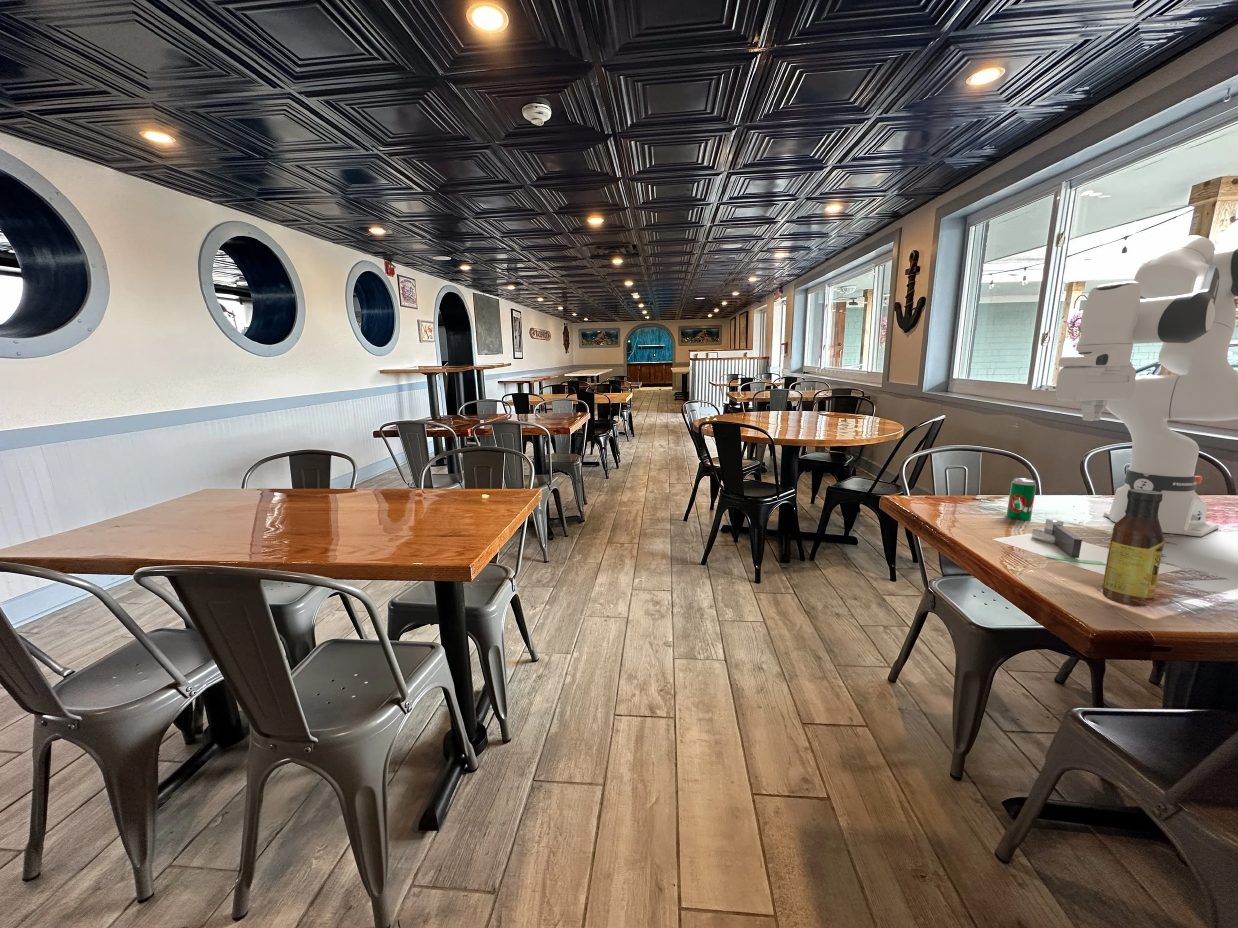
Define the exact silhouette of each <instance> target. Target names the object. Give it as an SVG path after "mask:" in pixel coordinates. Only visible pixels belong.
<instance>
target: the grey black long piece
mask: <svg viewBox="0 0 1238 928" xmlns="http://www.w3.org/2000/svg"><path fill="white" fill-rule="evenodd" d="M1031 533H1032V538H1034V539H1036V540H1039V541H1042V542H1047V543H1052V544H1055V545H1056V546H1058V547H1059V548H1060V549H1062V550H1063V551H1064V552H1065V553H1067V554H1068V555H1069V556H1071V557H1074V558H1079V554H1080V549H1081V544H1082V542H1083V539H1082V538H1080V537H1079V536H1077V535H1076V534H1074V533H1073V532H1071V531H1070V530H1068V529H1067V528H1065V527H1064V521H1062V520H1059V519H1055V518H1046V519H1045V522H1044V528H1041V527H1040V528H1039V527H1038V528H1033V529H1032V532H1031Z"/></svg>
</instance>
